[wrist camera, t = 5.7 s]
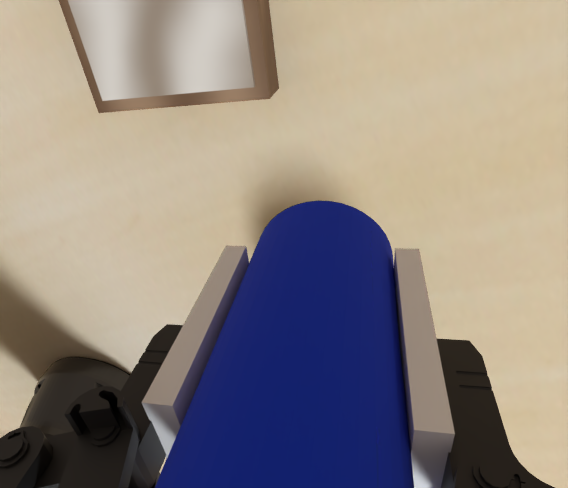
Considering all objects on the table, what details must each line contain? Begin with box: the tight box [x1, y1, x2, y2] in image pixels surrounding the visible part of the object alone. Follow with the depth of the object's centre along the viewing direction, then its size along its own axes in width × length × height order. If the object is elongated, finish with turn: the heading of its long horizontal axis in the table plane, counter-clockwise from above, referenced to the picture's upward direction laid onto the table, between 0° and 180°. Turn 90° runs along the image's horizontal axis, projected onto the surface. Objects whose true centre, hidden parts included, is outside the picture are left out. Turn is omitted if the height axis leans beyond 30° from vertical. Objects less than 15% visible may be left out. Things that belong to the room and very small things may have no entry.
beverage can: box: [155, 201, 414, 488], centre depth 10 cm, size 5×5×15 cm
